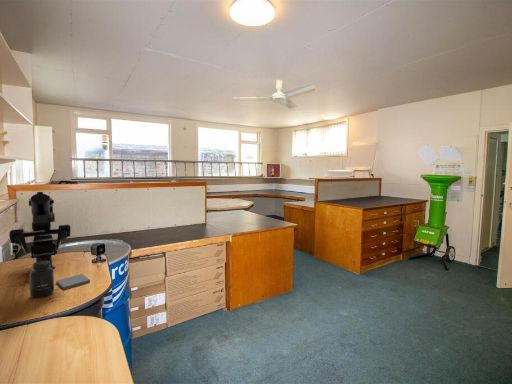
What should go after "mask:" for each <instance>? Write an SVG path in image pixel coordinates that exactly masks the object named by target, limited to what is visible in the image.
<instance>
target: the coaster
mask: <svg viewBox="0 0 512 384" xmlns="http://www.w3.org/2000/svg"><path fill="white" fill-rule="evenodd" d="M55 282H56V284H57V285H58V286H59V287H60V288H61V289H62V290H68V289H71V288H74V287H77V286H81V285H84V284H88V283H90V282H91V280H90V278H88V277H87V276H86V275H85V274H83V273H80V274H75V275H71V276H68V277H65V278H61V279H56V281H55Z"/></svg>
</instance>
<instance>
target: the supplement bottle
mask: <svg viewBox="0 0 512 384" xmlns="http://www.w3.org/2000/svg"><path fill="white" fill-rule="evenodd" d="M54 279H55V274H54V268H53V269H52V268H50V261H39V262H36V261H35V262H33V264H32V270H31V271H30V273H29V296H30V298H32V299H40V298H41V299H43V298H45V297H49V296H50V295H52V294H53V293H54V292H55V280H54Z"/></svg>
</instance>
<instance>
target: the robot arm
mask: <svg viewBox="0 0 512 384" xmlns="http://www.w3.org/2000/svg"><path fill="white" fill-rule="evenodd" d="M54 203H55V200H54V199H53V198H52V197H51V195H49V194H46V193H44V192H43V191H37V192H36V193H35V194H33V195H31V197H30V198H29V199H28V206H29V207H30V209H31V215H32V222H31V229H32V231H31V230H30V231H25V230H24V228H18V229H17V228H16V229H11V230H10V231H9V234H8V236H9V241H10V244H15V245H19V246H20V248H22V250H23V252H24V254H25V255H28V247H27V242H26V238H30V237H33V239H32V244H30V253H31V254H30V255H31V256H30V257H31V259H35V262H39V261H50V268H52V269H53V270H54V269H55V268H56V266H54V264H53V256H56V255H57V254H58V250H59V248H60V246H61V244H62V242H63V241H64V240H65V239H67V238H69V237H71V225H70V224H60V225H58V228H55V229H54V228H53V229H52V223H55V222H56V218H55V212H54V207H53V205H54ZM53 235H57V238H56V242H55V241H54V238H53Z"/></svg>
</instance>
